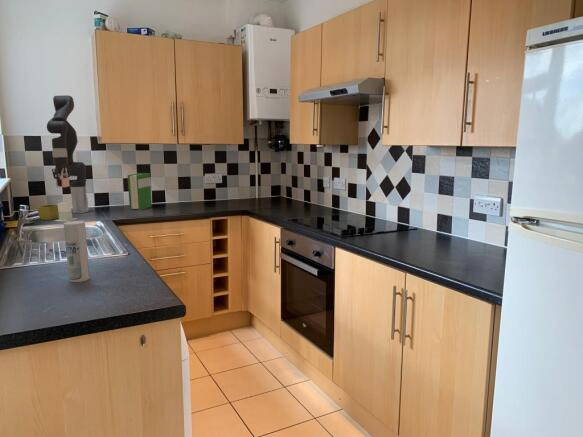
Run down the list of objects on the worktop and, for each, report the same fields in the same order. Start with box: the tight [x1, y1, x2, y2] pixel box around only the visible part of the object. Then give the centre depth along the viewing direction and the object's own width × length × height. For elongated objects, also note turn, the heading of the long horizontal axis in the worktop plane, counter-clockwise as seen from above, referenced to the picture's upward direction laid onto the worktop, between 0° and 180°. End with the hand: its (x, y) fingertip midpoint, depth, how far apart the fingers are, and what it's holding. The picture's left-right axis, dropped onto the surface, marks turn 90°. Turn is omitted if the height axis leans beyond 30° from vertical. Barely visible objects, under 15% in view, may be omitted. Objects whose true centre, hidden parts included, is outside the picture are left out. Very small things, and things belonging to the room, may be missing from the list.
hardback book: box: [127, 172, 152, 211], centre depth 310 cm, size 18×7×24 cm, turn 171°
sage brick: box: [58, 210, 73, 220], centre depth 261 cm, size 5×5×5 cm
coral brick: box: [55, 177, 70, 188], centre depth 258 cm, size 5×5×5 cm
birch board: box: [53, 217, 79, 222], centre depth 262 cm, size 10×10×1 cm
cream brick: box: [57, 201, 72, 212], centre depth 260 cm, size 5×5×5 cm
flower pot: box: [36, 204, 59, 221], centre depth 263 cm, size 9×9×9 cm
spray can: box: [63, 220, 90, 283], centre depth 150 cm, size 6×6×20 cm
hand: (62, 185), depth 258 cm, fingers closed on coral brick, 5 cm apart
